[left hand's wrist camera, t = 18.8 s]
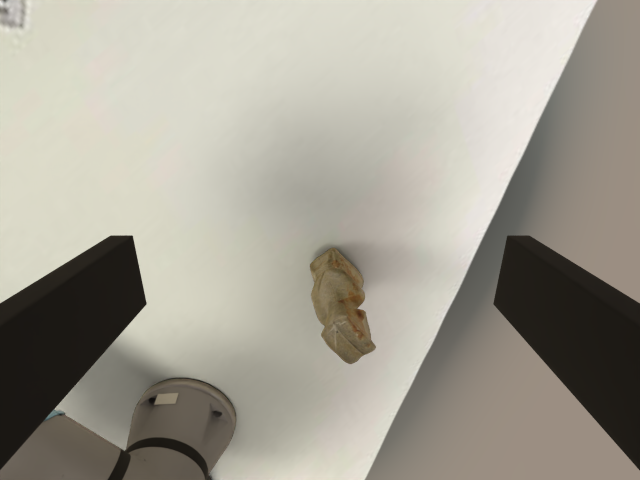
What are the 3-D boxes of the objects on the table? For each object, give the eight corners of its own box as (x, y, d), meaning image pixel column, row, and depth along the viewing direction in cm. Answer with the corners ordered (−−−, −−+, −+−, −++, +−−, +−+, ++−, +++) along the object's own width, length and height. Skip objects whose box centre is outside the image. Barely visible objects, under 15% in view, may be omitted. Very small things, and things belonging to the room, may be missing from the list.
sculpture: (333, 298, 47) (338, 379, 33) (302, 258, 45) (294, 326, 31) (369, 276, 46) (391, 350, 32) (339, 235, 44) (348, 294, 30)
